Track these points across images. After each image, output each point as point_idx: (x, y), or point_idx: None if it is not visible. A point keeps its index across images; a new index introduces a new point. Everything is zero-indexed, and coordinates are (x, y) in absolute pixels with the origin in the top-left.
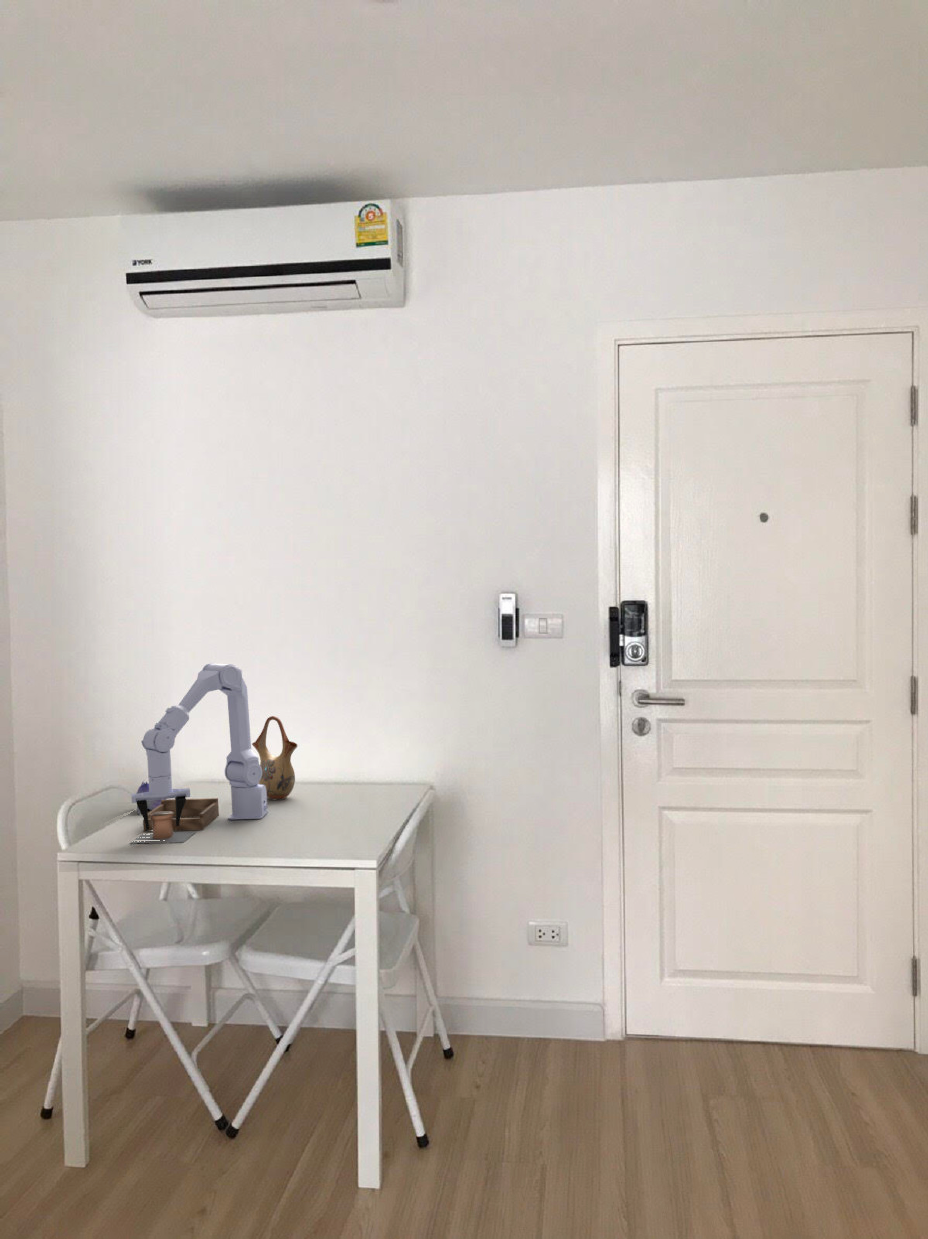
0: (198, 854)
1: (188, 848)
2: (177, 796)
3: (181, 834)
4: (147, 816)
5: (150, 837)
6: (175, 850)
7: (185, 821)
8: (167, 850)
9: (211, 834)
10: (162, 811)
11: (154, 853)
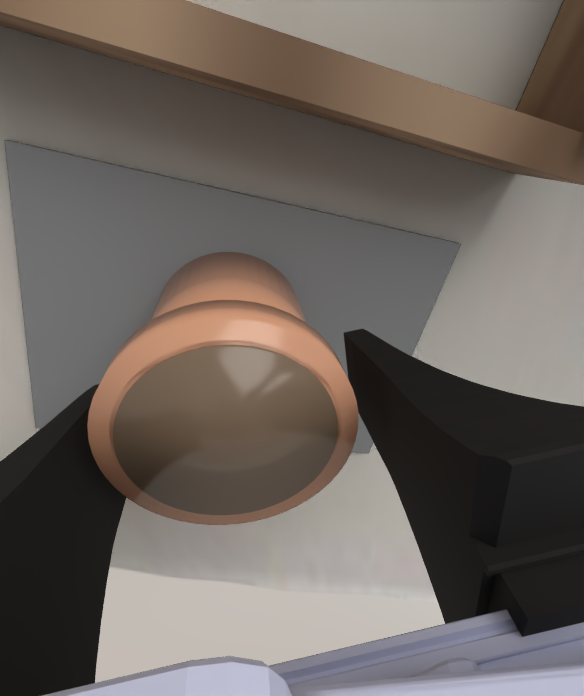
0: (416, 579)
1: (386, 522)
2: (530, 662)
3: (358, 298)
4: (108, 552)
5: (138, 323)
6: (331, 538)
7: (427, 140)
8: (296, 535)
9: (535, 322)
10: (217, 357)
11: (245, 561)
